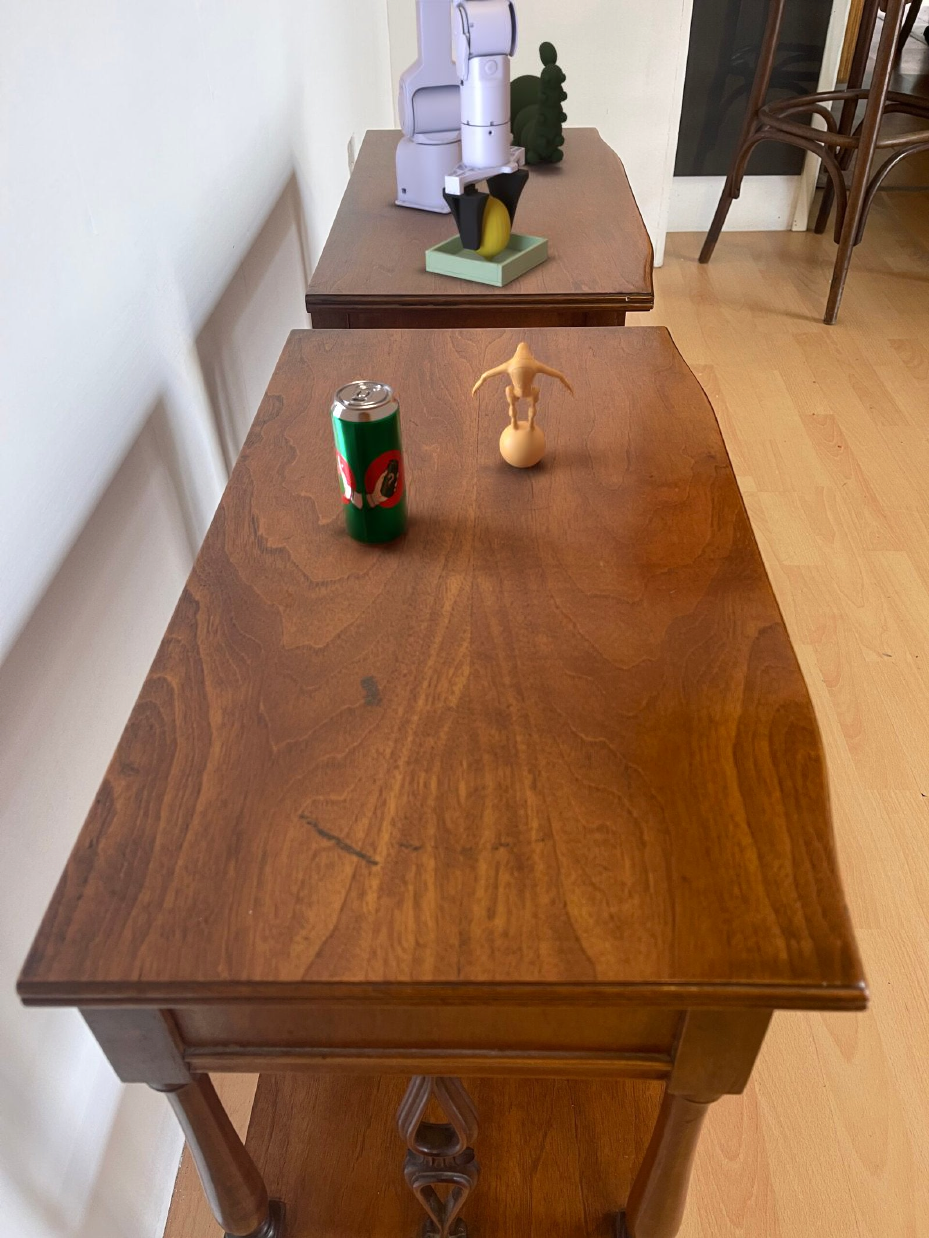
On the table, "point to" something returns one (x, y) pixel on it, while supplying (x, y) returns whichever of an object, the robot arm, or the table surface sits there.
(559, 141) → the dark green bumpy figure
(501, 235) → the lemon
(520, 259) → the tray
